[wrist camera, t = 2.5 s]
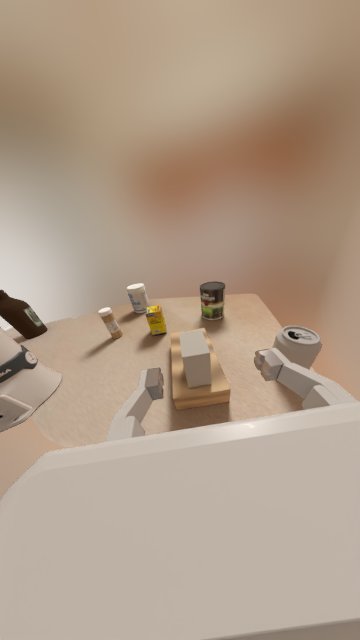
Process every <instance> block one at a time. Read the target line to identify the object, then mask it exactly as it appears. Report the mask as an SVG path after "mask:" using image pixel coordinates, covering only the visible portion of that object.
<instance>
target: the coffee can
mask: <svg viewBox="0 0 360 640" xmlns="http://www.w3.org/2000/svg"><path fill="white" fill-rule="evenodd" d="M200 292H201V307H202V317H203V318H205V319H207V320H218V319H221V318H222V317H223V316H224V297H225V284H224V283H222V282H207V283H204V284H202V285H201V286H200Z"/></svg>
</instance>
